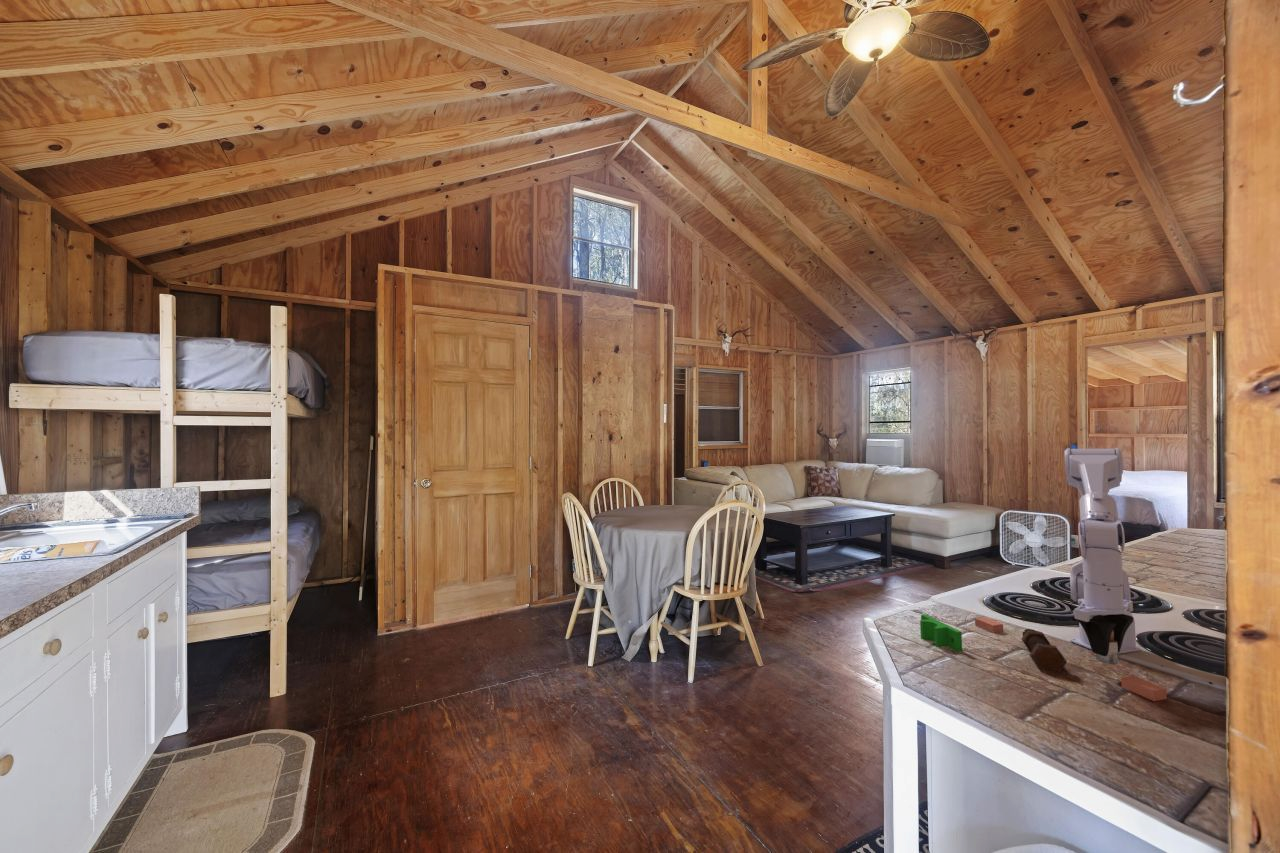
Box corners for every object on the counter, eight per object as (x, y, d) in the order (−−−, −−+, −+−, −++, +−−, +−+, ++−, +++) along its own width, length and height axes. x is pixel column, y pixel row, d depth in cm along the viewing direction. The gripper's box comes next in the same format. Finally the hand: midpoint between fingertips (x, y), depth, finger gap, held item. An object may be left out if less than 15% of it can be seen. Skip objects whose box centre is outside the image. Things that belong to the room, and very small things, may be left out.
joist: (985, 624, 126) (984, 616, 126) (1003, 631, 121) (1003, 624, 121) (975, 625, 125) (974, 618, 125) (993, 633, 121) (992, 625, 121)
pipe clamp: (912, 634, 122) (911, 615, 122) (925, 633, 122) (925, 614, 122) (947, 653, 110) (946, 632, 111) (962, 652, 111) (961, 631, 111)
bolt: (1035, 652, 114) (1054, 679, 101) (1011, 638, 116) (1026, 663, 103) (1050, 631, 113) (1071, 656, 99) (1026, 617, 115) (1043, 640, 102)
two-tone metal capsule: (1102, 656, 100) (1101, 623, 100) (1122, 662, 97) (1120, 628, 97) (1091, 658, 99) (1090, 625, 99) (1111, 665, 96) (1110, 631, 96)
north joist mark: (1134, 685, 95) (1133, 675, 95) (1166, 698, 90) (1166, 688, 90) (1121, 687, 94) (1121, 677, 94) (1153, 701, 89) (1153, 690, 89)
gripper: (1101, 572, 104) (1104, 638, 104) (1055, 581, 99) (1058, 650, 99) (1145, 581, 98) (1148, 652, 98) (1098, 591, 93) (1101, 665, 93)
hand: (1106, 652), depth 98 cm, fingers closed on two-tone metal capsule, 3 cm apart
